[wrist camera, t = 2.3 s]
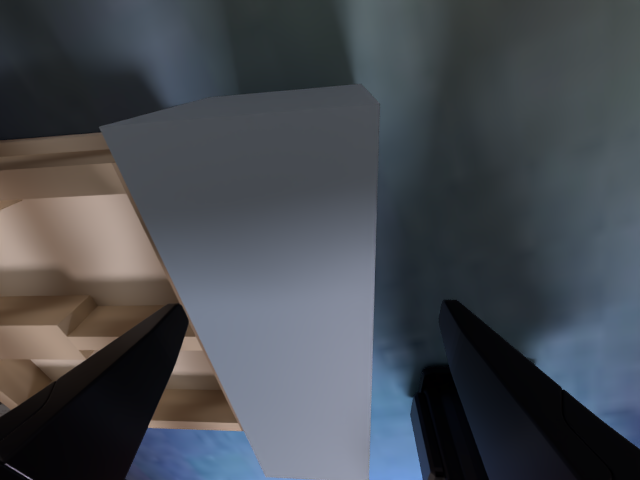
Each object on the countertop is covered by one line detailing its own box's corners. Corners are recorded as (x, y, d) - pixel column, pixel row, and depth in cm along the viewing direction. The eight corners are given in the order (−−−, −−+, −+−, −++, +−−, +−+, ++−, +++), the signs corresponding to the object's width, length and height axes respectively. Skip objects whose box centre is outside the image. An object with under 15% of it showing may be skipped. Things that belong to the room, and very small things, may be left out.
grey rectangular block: (356, 78, 9) (379, 104, 4) (359, 338, 16) (368, 482, 11) (238, 89, 9) (98, 126, 4) (290, 338, 16) (265, 476, 11)
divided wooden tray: (217, 123, 10) (183, 140, 8) (288, 394, 20) (281, 436, 17) (-224, 158, 12) (-349, 179, 10) (35, 389, 22) (1, 426, 19)
